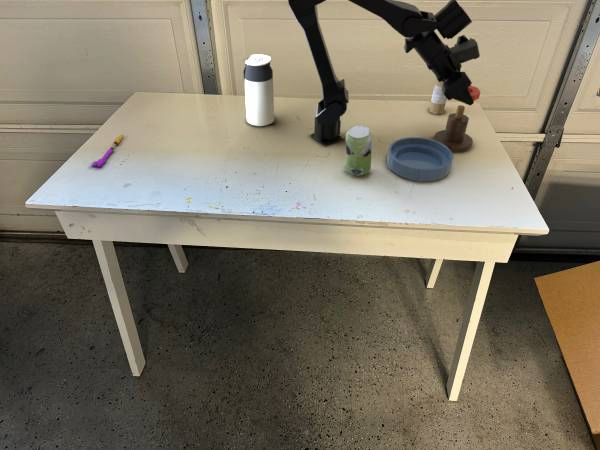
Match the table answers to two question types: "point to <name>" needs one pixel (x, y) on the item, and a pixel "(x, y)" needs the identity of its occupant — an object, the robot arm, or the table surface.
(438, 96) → the sprinkles bottle
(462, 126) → the ring stand
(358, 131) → the beverage can
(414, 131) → the table surface
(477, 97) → the ring
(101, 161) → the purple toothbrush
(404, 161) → the dish
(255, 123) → the travel mug
